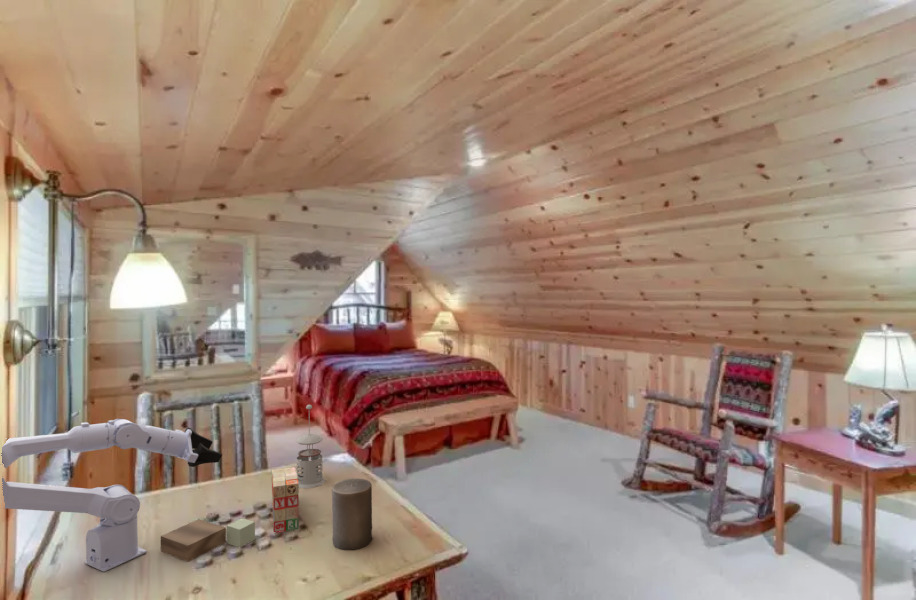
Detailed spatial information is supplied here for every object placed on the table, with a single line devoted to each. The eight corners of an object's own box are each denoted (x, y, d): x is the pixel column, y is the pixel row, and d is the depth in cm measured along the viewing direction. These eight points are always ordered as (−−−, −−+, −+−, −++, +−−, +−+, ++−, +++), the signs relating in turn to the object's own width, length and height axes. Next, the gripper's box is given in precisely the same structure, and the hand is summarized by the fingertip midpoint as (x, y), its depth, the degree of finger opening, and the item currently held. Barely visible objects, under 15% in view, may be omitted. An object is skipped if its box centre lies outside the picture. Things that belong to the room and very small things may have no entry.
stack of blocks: (271, 500, 149) (271, 459, 149) (294, 497, 152) (293, 456, 151) (273, 533, 130) (272, 485, 129) (299, 529, 132) (298, 482, 131)
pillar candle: (380, 537, 127) (380, 478, 127) (351, 554, 119) (351, 491, 119) (352, 527, 133) (352, 470, 132) (323, 543, 125) (323, 482, 124)
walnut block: (188, 563, 116) (187, 545, 116) (160, 552, 121) (160, 536, 121) (225, 543, 125) (225, 527, 125) (199, 534, 130) (198, 519, 130)
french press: (293, 489, 157) (292, 409, 157) (294, 476, 169) (293, 401, 168) (325, 486, 160) (325, 407, 159) (325, 473, 171) (324, 399, 170)
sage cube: (239, 548, 122) (239, 529, 122) (227, 543, 124) (226, 525, 124) (255, 539, 126) (254, 521, 126) (242, 535, 128) (242, 518, 128)
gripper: (179, 438, 120) (232, 449, 129) (164, 414, 130) (213, 426, 140) (164, 466, 119) (218, 475, 129) (149, 439, 130) (201, 449, 139)
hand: (215, 451), depth 134 cm, fingers open, 7 cm apart
